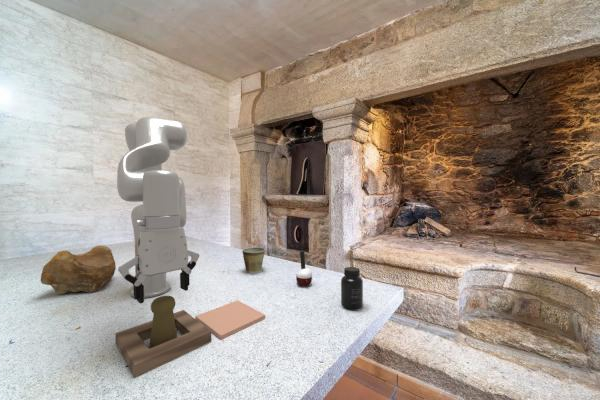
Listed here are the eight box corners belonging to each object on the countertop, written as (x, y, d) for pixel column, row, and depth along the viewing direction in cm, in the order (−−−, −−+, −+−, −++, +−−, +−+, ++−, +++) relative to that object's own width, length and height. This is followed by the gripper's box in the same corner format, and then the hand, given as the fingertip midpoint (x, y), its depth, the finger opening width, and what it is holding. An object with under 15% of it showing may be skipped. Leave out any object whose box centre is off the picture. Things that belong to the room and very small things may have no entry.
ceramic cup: (263, 275, 108) (263, 252, 107) (240, 275, 108) (239, 252, 108) (267, 266, 121) (267, 245, 120) (246, 266, 121) (246, 245, 121)
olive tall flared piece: (165, 352, 57) (164, 304, 56) (143, 348, 58) (142, 302, 57) (183, 336, 63) (182, 293, 62) (162, 333, 64) (161, 291, 63)
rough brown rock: (74, 306, 80) (78, 260, 80) (31, 298, 82) (34, 253, 82) (132, 282, 103) (135, 246, 103) (97, 276, 105) (100, 241, 105)
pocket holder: (115, 343, 60) (115, 333, 60) (183, 318, 71) (183, 309, 71) (134, 377, 49) (134, 365, 49) (211, 341, 61) (211, 331, 61)
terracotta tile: (195, 319, 71) (195, 316, 71) (237, 303, 81) (237, 300, 81) (221, 339, 61) (220, 335, 61) (265, 318, 72) (265, 315, 72)
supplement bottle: (363, 303, 82) (364, 266, 82) (361, 312, 76) (362, 273, 75) (342, 299, 84) (343, 264, 84) (339, 308, 78) (339, 271, 77)
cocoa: (309, 290, 93) (311, 259, 92) (293, 288, 94) (294, 257, 93) (313, 280, 102) (314, 252, 101) (298, 278, 103) (299, 250, 102)
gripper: (122, 228, 50) (123, 312, 50) (204, 221, 63) (205, 288, 63) (113, 225, 55) (115, 302, 55) (191, 219, 68) (192, 282, 68)
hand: (163, 295), depth 59 cm, fingers open, 9 cm apart
